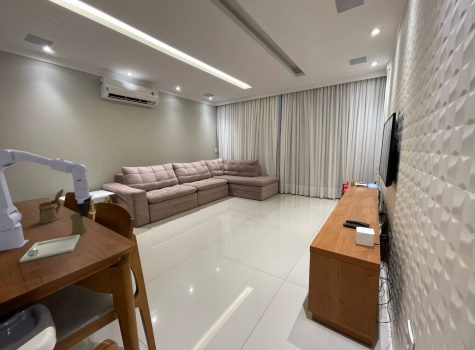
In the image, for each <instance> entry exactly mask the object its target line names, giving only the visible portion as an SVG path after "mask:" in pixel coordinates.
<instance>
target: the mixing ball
mask: <svg viewBox="0 0 475 350" xmlns="http://www.w3.org/2000/svg"><path fill="white" fill-rule="evenodd" d="M27 252H28V253H27ZM27 252H26V253H27V255H28V256H29V257H32V256H36V255H37V254H38V252H39V251H38V249H35V248H34V249H31V250H29V249H28V250H27Z"/></svg>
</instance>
